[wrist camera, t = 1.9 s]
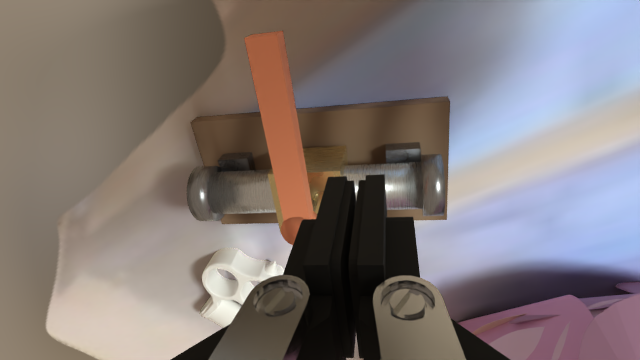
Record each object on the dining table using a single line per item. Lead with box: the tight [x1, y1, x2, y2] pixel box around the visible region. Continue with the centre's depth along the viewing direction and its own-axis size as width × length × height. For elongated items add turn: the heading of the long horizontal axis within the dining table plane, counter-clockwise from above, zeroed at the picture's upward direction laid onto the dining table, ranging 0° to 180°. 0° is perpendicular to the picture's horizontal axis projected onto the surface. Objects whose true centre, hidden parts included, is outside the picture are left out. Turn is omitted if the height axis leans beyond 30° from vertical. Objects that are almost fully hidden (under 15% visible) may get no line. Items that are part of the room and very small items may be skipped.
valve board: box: [191, 96, 450, 224], centre depth 38 cm, size 24×12×2 cm, turn 98°
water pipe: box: [187, 142, 445, 232], centre depth 33 cm, size 22×6×8 cm, turn 98°
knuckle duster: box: [199, 248, 284, 328], centre depth 48 cm, size 3×18×15 cm
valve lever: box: [244, 31, 317, 245], centre depth 26 cm, size 3×15×1 cm, turn 8°
